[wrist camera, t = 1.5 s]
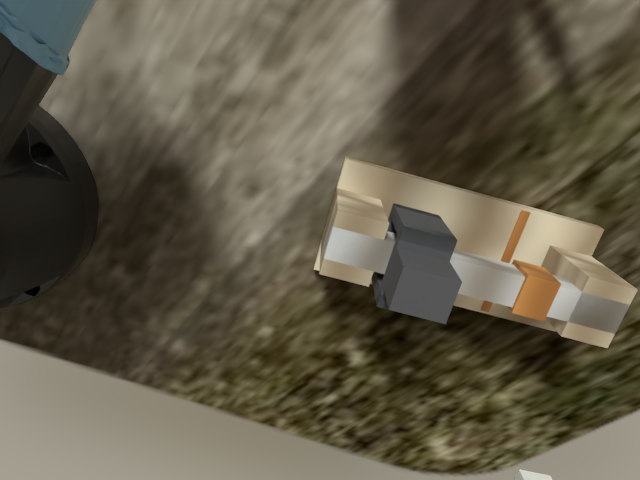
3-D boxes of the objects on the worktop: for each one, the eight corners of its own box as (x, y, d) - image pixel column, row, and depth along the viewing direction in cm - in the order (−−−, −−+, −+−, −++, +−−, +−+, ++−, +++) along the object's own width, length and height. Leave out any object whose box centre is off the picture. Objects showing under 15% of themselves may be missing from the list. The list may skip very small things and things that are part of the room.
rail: (314, 264, 36) (310, 306, 30) (344, 156, 34) (347, 176, 27) (550, 325, 37) (595, 377, 31) (596, 225, 35) (656, 260, 28)
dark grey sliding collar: (370, 273, 33) (381, 331, 26) (393, 203, 31) (411, 243, 24) (414, 284, 33) (437, 345, 26) (439, 215, 32) (471, 259, 24)
